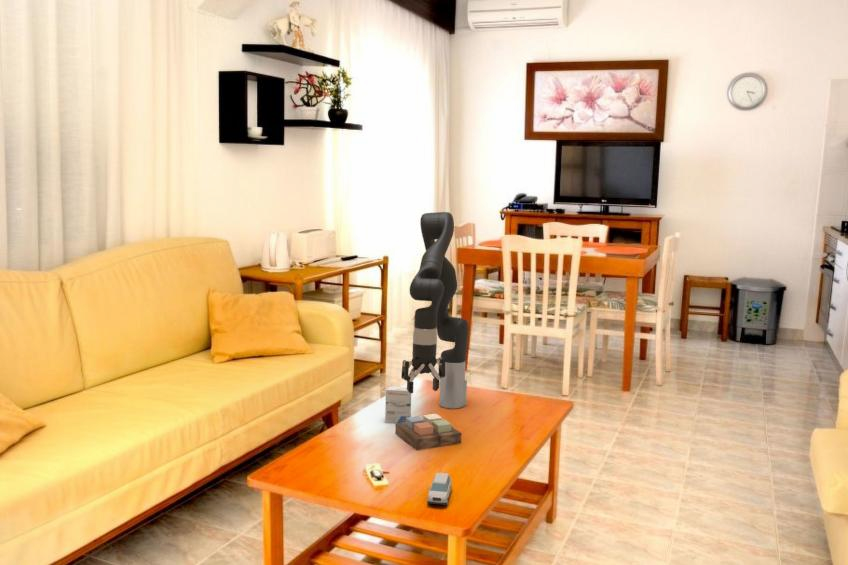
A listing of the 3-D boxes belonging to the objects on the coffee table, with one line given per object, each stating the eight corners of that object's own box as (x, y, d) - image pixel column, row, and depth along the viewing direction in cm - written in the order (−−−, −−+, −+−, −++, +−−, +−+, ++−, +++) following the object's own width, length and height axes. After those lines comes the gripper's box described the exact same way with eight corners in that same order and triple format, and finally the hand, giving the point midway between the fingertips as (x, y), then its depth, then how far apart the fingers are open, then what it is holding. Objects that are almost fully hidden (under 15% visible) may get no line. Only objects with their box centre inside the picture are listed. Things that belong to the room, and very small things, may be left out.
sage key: (444, 426, 247) (444, 419, 247) (451, 431, 243) (451, 423, 242) (431, 428, 245) (432, 421, 245) (438, 433, 241) (438, 425, 240)
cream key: (435, 420, 253) (435, 413, 252) (441, 425, 249) (441, 417, 248) (423, 422, 251) (423, 415, 250) (429, 426, 246) (429, 419, 246)
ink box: (411, 419, 264) (411, 387, 262) (409, 424, 259) (410, 391, 257) (386, 418, 265) (387, 385, 263) (384, 422, 260) (385, 389, 258)
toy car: (425, 507, 196) (426, 489, 195) (432, 487, 209) (432, 470, 208) (447, 509, 195) (448, 491, 195) (452, 489, 208) (453, 472, 207)
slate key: (418, 423, 250) (418, 415, 249) (424, 427, 246) (424, 420, 245) (405, 424, 248) (405, 417, 247) (411, 429, 244) (411, 421, 243)
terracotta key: (426, 429, 244) (427, 421, 244) (433, 433, 240) (433, 426, 240) (414, 431, 242) (414, 423, 242) (420, 435, 238) (420, 428, 238)
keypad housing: (438, 427, 256) (438, 417, 256) (461, 443, 242) (461, 432, 242) (395, 433, 249) (395, 423, 249) (416, 450, 235) (416, 439, 235)
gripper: (439, 337, 243) (437, 386, 245) (399, 340, 237) (397, 390, 239) (450, 342, 237) (448, 392, 239) (408, 345, 231) (407, 396, 233)
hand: (422, 391), depth 239 cm, fingers open, 8 cm apart
